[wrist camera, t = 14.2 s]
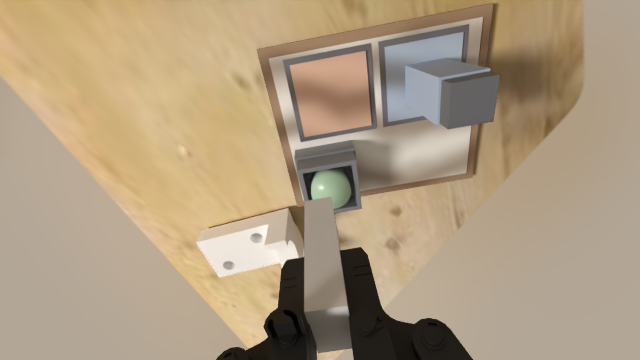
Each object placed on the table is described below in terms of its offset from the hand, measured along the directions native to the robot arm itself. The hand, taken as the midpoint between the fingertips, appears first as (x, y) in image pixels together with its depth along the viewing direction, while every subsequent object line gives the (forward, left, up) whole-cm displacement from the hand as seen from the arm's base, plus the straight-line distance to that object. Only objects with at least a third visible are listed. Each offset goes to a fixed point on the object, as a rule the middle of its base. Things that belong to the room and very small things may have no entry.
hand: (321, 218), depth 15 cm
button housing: (+7, +1, -19) cm, 21 cm away
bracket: (+16, -12, -20) cm, 28 cm away
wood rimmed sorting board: (+2, +8, -19) cm, 21 cm away
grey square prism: (-2, +13, -18) cm, 22 cm away
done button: (+7, +1, -16) cm, 17 cm away
